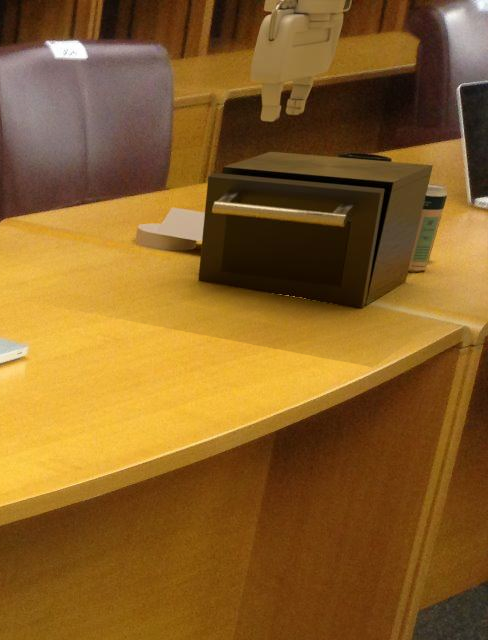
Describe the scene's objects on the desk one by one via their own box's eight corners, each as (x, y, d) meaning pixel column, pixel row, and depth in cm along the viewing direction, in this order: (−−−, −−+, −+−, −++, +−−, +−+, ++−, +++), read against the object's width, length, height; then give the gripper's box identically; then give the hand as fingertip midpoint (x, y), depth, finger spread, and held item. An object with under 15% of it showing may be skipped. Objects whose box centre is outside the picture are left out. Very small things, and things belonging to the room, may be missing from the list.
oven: (365, 305, 205) (393, 182, 198) (202, 283, 218) (222, 166, 211) (405, 281, 219) (433, 165, 212) (249, 262, 232) (270, 151, 225)
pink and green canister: (399, 264, 229) (421, 181, 224) (431, 270, 226) (455, 186, 220) (384, 268, 227) (406, 184, 221) (416, 274, 223) (440, 190, 218)
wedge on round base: (228, 256, 236) (149, 242, 244) (238, 212, 233) (157, 199, 241) (204, 265, 230) (123, 250, 238) (213, 219, 227) (131, 206, 235)
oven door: (349, 322, 201) (368, 206, 192) (184, 299, 214) (194, 188, 205) (365, 303, 205) (384, 188, 196) (202, 281, 217) (212, 172, 208)
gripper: (305, 0, 175) (280, 127, 182) (357, -6, 189) (332, 112, 196) (249, -2, 179) (227, 123, 185) (304, -7, 193) (282, 108, 199)
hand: (281, 117), depth 191 cm, fingers open, 8 cm apart
